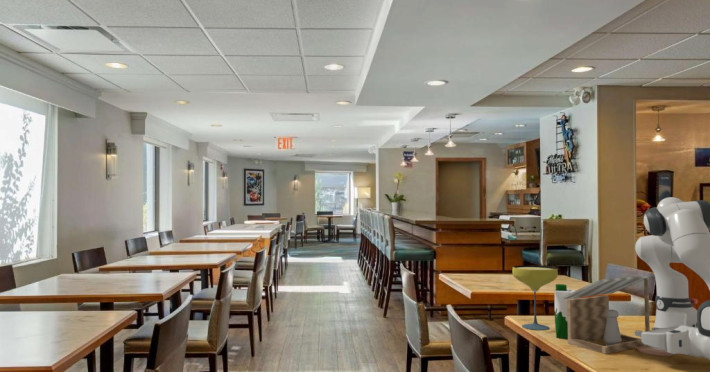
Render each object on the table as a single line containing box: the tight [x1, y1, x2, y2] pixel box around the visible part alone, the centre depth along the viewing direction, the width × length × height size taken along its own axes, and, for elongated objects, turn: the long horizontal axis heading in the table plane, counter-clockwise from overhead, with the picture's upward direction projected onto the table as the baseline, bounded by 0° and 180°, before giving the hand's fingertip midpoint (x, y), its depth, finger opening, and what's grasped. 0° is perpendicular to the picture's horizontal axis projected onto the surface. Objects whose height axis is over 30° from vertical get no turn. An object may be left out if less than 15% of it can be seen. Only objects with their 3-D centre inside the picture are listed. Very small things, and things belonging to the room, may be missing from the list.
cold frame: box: [563, 274, 651, 355], centre depth 186 cm, size 28×16×25 cm, turn 118°
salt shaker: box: [602, 309, 623, 346], centre depth 184 cm, size 6×6×13 cm
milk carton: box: [554, 283, 581, 340], centre depth 197 cm, size 9×9×20 cm
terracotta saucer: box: [637, 345, 675, 357], centre depth 176 cm, size 11×11×1 cm
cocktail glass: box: [512, 264, 559, 331], centre depth 214 cm, size 18×18×25 cm
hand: (644, 331), depth 173 cm, fingers open, 8 cm apart
